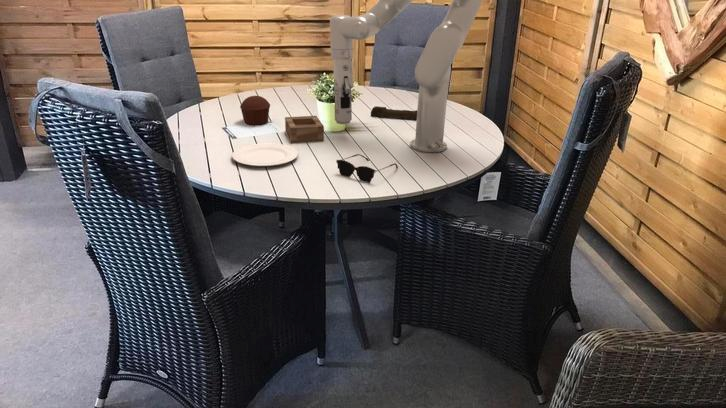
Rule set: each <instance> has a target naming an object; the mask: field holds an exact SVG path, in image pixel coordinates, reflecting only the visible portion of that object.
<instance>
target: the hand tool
mask: <svg viewBox="0 0 726 408" xmlns="http://www.w3.org/2000/svg"><path fill="white" fill-rule="evenodd" d="M370 117H373V118H376V117H378V119H379V118H380V119H385V118H390V119H391V118H392V119H393V118H395V119H404V120H405V119H406V120H414V121H416V122H417V109H416V110H408V109H402V110H401V109H391V108H387V107H385V106H377V105H376V106H374V107H372V109H371V111H370Z"/></svg>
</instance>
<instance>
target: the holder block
mask: <svg viewBox="0 0 726 408" xmlns="http://www.w3.org/2000/svg"><path fill="white" fill-rule="evenodd" d="M284 124H285V126H284V128H285V129H284V130H285V134H286V135H287V138H288V140H289V142H290V143H291V144H304V143H306V144H307V143H321V142H322V143H323V142H325V126H324V124H323V123H322V121H321V120H320V118H319V117H318V116H317V115H305V116H303V115H302V116H284Z"/></svg>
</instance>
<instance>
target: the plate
mask: <svg viewBox="0 0 726 408" xmlns="http://www.w3.org/2000/svg"><path fill="white" fill-rule="evenodd" d="M298 156H299V153H298V150H297V149H296V148H294V147H292V146H290V145H286V144H282V143H273V142H272V143H271V142H268V143H267V142H266V143H265V142H263V143H252V144H248V145H244V146H241V147H239V148H237V149H236V150H234V151H233V152H232V154H231V158H232V159H233V161H235V162H236V163H238V164H240V165H241V164H242V165H245V166H250V167H254V168H255V167H256V168H257V167H258V168H272V167H278V166H282V165H285V164H289V163H291V162H293V161H294V160H296V159H297V157H298Z"/></svg>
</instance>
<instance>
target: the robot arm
mask: <svg viewBox="0 0 726 408" xmlns="http://www.w3.org/2000/svg"><path fill="white" fill-rule="evenodd" d="M413 1H414V0H378V1H377V2H376V3H375V4H374V5H373V6H372V7H370V9H368V10H367V12H365V13H364V14H361V15H356V16H351V15H349V14H335V15H332V16H330V19H329V32H330V33H329V34H330V58H331V59H332V60H333V79H334V78H335V81H337V84H338V87H339V88H340V89H341V97H340V99H341V109H345V108H350V92H349V90H350V88H351V89H353V88H354V75H353V63H352V59H353V58H354V48H353V47H354V40H357V41H364V40H367V39H369V38H371V37H374V36H375V35H377V34H378V33H379V32H380V31H382V30H383V29H384V28H385V27H386V26H387V25H388V24H389V23H390V22H391V21H392V20H393V19H394V18H395V17H397V16H398V15H399V14H401V12H403V10H405V9H406V8H407V7H408V6H409V5H410V4H412V3H413ZM482 3H483V0H452V2H451V3H450V5H449V7H448V10H447V13H445V14H446V15H445V16H444V18H443V20H442V22H441V23H440V25H439V26H437V27H436V28H434V30H432V32H431V34H430V36H429V38H428V40H427V41H426V44H425V46H424V49H423V50H422V52H421V54H420V57H419V59H418V61H417V63H416V65H415V68H414V78H415V81H416V83H417V84H418V86H419V87H418V96H417V99H418V100H417V109H416V110H417V120H416V127H415V138H414V139H413V140H411V141H410V147H411V148H412V149H414V150H416V151H418V152H423V153H440V152H444V151H446V150H447V148H448V144H447V142H445V141H444V135H445V123H446V116H447V115H446V113H447V102H448V94H449V93H448V92H449V86H450V85H449V84H450V80H451V74H452V73H451V72H452V71H451V70H452V67H451V65H452V64H453V62H454V59H455V57H456V55H457V54H458V52H459V50H460V49H461V48H462V47H463V45H464V43H465V41H466V38H467V35H468V33H469V31H470V30H471V27H472V25H473V23H474V21H475V18H476V17H477V14H478V12H479V10H480V8H481V6H482ZM349 85H350V87H349ZM342 86H345V88H342ZM343 90H344V92H343Z"/></svg>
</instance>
